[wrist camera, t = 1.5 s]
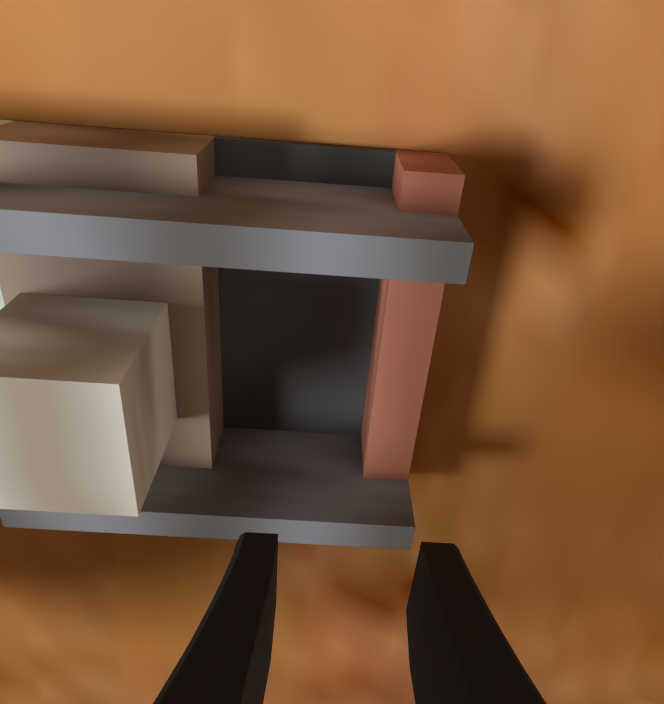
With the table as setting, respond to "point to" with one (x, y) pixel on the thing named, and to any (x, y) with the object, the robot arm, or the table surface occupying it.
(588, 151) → the table surface
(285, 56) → the table surface
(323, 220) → the tunnel deck
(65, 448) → the cream block
